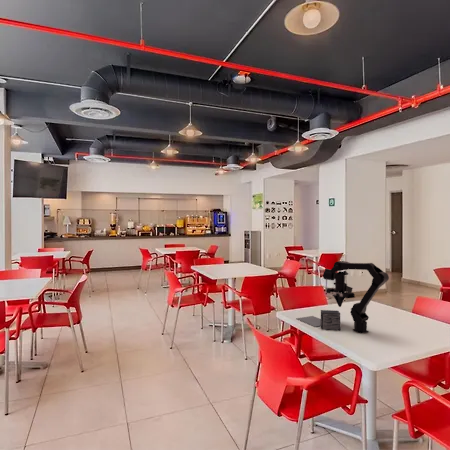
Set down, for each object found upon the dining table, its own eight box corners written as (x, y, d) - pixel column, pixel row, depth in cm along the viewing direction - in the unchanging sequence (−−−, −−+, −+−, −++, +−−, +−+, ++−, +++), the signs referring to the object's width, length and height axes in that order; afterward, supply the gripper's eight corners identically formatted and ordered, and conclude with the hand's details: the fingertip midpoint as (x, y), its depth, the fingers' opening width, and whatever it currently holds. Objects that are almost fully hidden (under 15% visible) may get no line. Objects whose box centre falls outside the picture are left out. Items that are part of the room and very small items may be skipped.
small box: (337, 327, 200) (338, 310, 200) (340, 330, 194) (340, 313, 193) (320, 326, 201) (320, 309, 201) (322, 330, 195) (322, 312, 194)
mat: (332, 324, 205) (332, 323, 205) (314, 327, 199) (314, 326, 199) (312, 316, 222) (312, 315, 222) (296, 319, 215) (296, 318, 215)
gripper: (361, 283, 198) (361, 308, 198) (339, 278, 215) (339, 302, 215) (347, 284, 193) (347, 310, 193) (325, 279, 210) (325, 303, 210)
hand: (339, 306), depth 203 cm, fingers closed
